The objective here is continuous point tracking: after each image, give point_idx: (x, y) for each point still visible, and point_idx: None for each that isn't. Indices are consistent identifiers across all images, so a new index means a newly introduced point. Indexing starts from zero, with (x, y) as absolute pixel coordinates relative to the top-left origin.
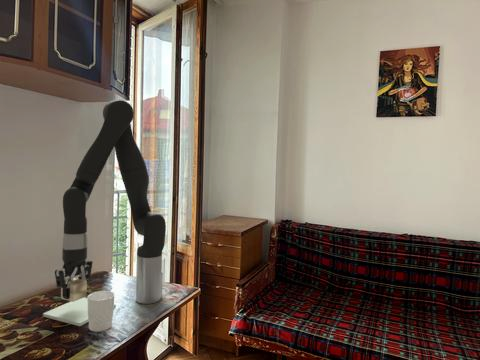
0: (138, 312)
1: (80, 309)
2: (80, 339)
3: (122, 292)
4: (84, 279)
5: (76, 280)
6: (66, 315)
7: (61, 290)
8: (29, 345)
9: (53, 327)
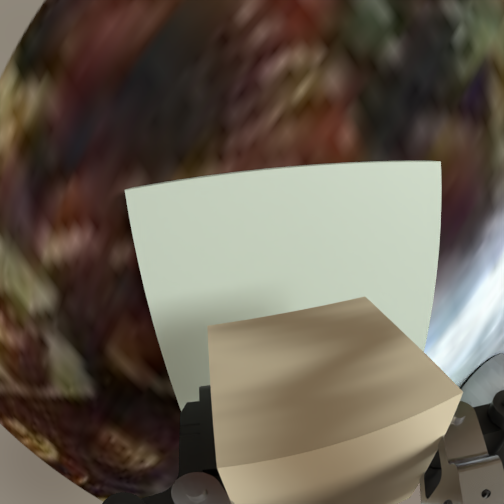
0: None
1: None
2: (143, 478)
3: None
4: (433, 469)
5: (382, 479)
6: (201, 342)
7: (211, 388)
8: (7, 394)
9: (105, 361)
